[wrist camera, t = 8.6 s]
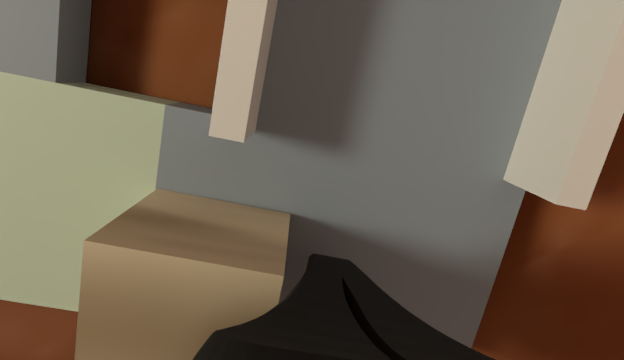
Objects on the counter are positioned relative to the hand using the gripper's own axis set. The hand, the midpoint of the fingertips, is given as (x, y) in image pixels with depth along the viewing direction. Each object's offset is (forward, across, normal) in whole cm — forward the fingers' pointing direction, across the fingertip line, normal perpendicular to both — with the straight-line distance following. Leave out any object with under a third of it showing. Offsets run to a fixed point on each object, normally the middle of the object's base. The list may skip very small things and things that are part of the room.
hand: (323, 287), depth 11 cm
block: (+1, +3, 0) cm, 3 cm away
